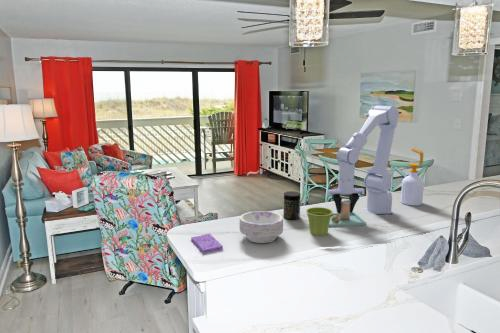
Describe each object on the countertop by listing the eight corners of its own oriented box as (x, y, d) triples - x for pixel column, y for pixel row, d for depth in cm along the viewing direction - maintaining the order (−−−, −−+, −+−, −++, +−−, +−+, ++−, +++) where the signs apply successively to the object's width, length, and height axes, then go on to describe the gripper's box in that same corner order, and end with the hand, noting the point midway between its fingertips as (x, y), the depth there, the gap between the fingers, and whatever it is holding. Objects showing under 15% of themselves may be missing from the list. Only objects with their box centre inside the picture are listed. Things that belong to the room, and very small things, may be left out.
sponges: (203, 255, 124) (202, 249, 124) (190, 241, 135) (190, 236, 135) (223, 250, 127) (223, 245, 127) (209, 237, 138) (209, 232, 138)
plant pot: (300, 231, 142) (301, 208, 140) (322, 227, 146) (323, 205, 144) (314, 240, 133) (315, 217, 132) (337, 236, 137) (338, 213, 135)
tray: (354, 215, 158) (354, 212, 158) (366, 226, 147) (366, 222, 146) (315, 217, 156) (316, 213, 156) (325, 228, 145) (325, 224, 144)
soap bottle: (403, 198, 181) (407, 146, 176) (424, 202, 176) (429, 148, 170) (398, 203, 174) (402, 149, 169) (419, 207, 169) (424, 151, 163)
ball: (338, 221, 150) (338, 213, 149) (340, 224, 147) (341, 216, 146) (330, 222, 150) (330, 214, 149) (332, 225, 146) (333, 216, 146)
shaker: (347, 215, 155) (348, 198, 154) (351, 219, 151) (352, 202, 149) (336, 216, 155) (337, 198, 153) (339, 220, 151) (340, 202, 149)
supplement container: (299, 222, 151) (299, 196, 149) (282, 221, 153) (282, 195, 151) (300, 216, 158) (301, 191, 156) (284, 215, 159) (284, 190, 157)
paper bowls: (273, 228, 145) (273, 207, 144) (290, 243, 131) (290, 221, 130) (234, 233, 141) (234, 212, 139) (247, 249, 127) (247, 227, 125)
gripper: (360, 175, 154) (358, 208, 157) (324, 176, 152) (323, 209, 155) (367, 179, 147) (365, 214, 150) (330, 181, 145) (329, 215, 148)
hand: (344, 212), depth 152 cm, fingers closed on shaker, 4 cm apart
